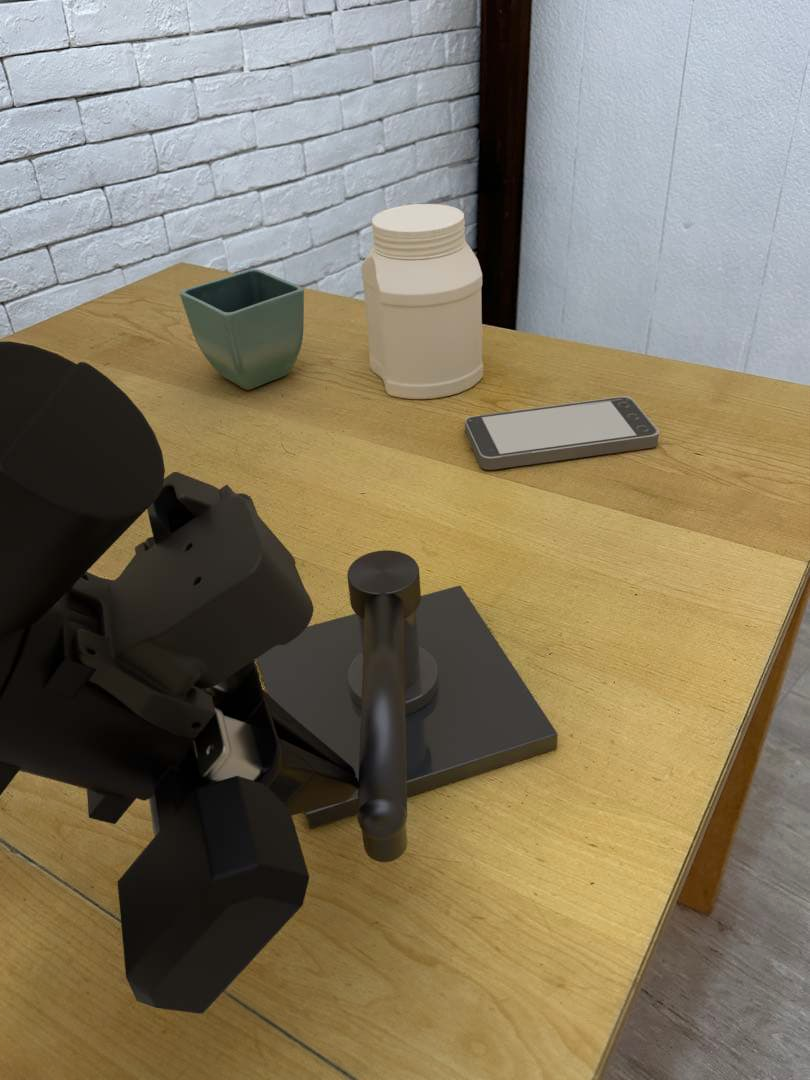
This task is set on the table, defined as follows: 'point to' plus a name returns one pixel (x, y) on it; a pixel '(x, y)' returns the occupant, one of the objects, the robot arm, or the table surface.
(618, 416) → the smartphone
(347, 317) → the table surface
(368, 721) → the spout
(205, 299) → the flower pot
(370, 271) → the jar
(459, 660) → the black flat block
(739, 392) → the table surface
